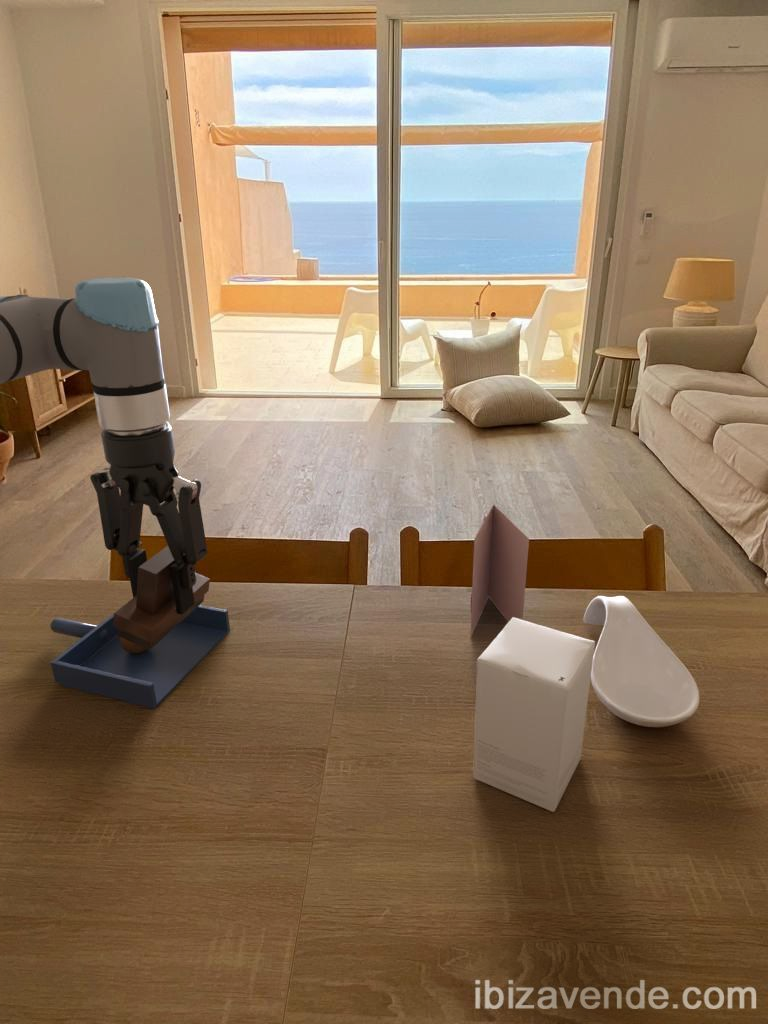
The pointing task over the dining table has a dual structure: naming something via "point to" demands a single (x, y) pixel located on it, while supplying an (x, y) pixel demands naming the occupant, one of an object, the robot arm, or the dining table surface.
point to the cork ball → (131, 646)
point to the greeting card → (499, 567)
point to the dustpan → (136, 657)
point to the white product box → (531, 711)
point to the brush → (155, 603)
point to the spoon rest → (637, 668)
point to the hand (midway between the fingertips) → (164, 603)
